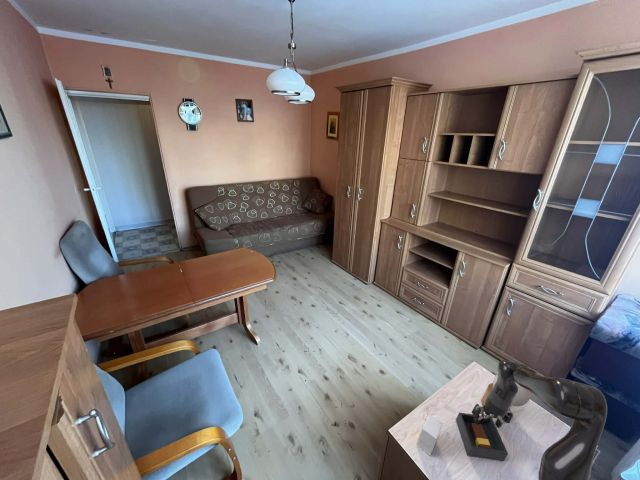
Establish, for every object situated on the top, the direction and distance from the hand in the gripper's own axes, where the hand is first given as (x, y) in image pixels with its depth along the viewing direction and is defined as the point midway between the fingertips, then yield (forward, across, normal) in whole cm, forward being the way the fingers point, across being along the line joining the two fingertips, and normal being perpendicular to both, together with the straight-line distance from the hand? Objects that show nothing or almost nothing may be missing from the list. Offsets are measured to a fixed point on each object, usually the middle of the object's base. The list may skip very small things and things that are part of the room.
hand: (486, 424), depth 113 cm
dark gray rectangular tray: (+12, 0, 0) cm, 12 cm away
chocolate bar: (+11, 0, 0) cm, 11 cm away
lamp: (+12, +15, +15) cm, 24 cm away
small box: (+12, -24, -5) cm, 27 cm away
